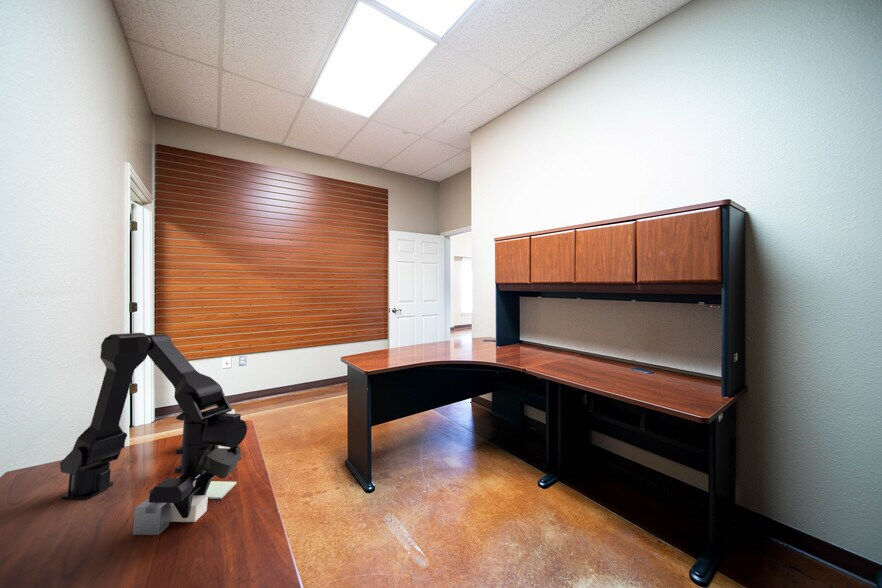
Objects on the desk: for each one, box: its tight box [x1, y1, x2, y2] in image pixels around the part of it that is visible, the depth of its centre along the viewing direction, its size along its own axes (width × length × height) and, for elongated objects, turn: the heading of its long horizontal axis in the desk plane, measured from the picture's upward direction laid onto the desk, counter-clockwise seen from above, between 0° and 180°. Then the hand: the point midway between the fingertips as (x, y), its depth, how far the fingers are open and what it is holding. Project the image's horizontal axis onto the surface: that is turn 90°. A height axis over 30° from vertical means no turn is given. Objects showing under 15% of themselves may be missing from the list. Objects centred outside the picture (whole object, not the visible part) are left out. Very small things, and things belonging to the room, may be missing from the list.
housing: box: [132, 476, 179, 536], centre depth 72 cm, size 5×12×5 cm, turn 4°
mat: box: [206, 480, 238, 500], centre depth 82 cm, size 7×7×1 cm
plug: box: [169, 495, 209, 523], centre depth 73 cm, size 9×4×3 cm, turn 94°
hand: (192, 511), depth 73 cm, fingers closed on plug, 4 cm apart
